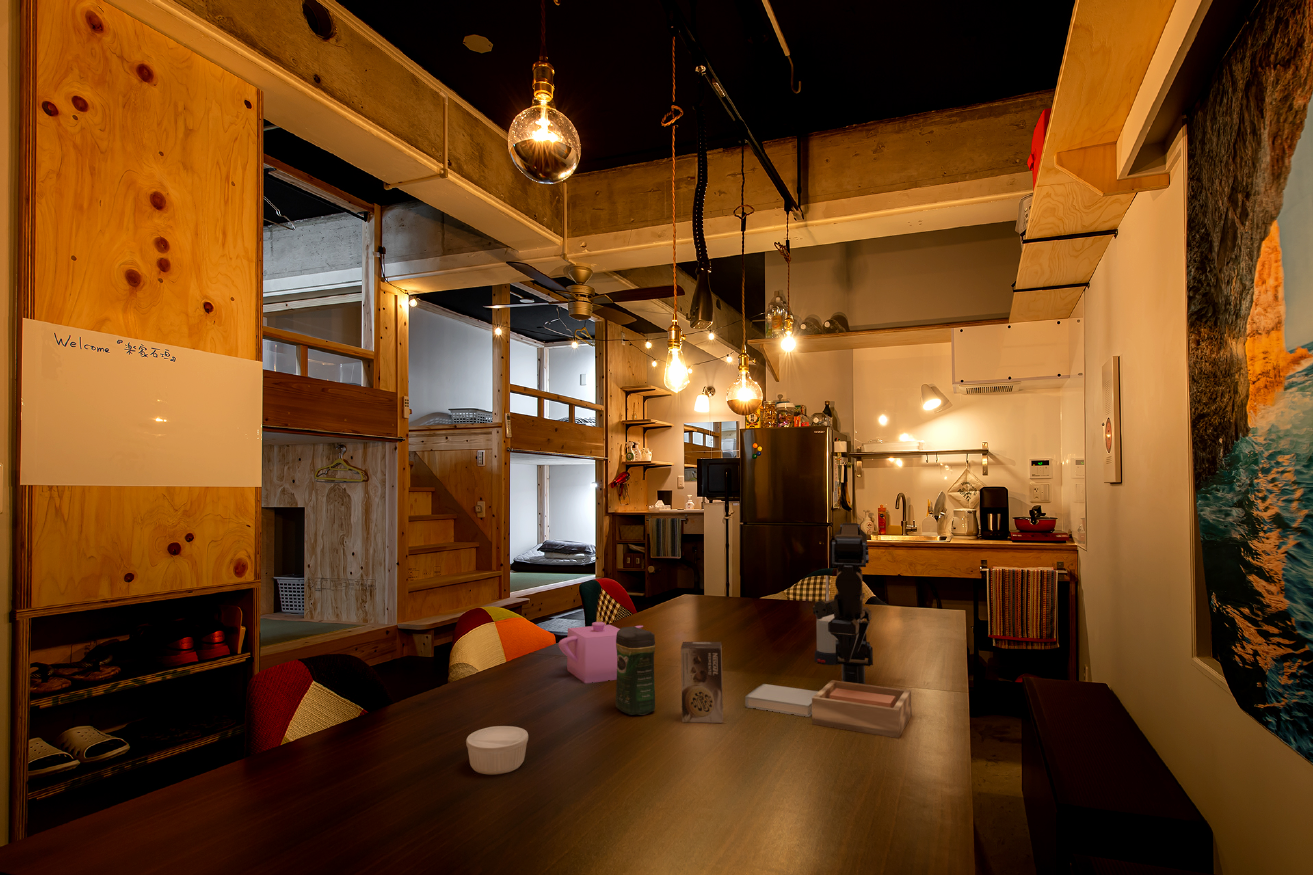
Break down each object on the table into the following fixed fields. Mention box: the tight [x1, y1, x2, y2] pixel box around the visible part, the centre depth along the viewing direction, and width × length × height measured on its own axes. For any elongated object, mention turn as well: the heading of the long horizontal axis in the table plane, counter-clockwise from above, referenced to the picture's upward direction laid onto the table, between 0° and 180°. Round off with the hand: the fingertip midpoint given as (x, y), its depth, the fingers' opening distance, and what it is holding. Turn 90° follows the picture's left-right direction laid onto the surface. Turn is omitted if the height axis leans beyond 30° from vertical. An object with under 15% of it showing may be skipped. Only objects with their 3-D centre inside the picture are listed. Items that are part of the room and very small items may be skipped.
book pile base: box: [744, 683, 819, 718], centre depth 164 cm, size 12×15×2 cm
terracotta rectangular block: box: [829, 688, 896, 708], centre depth 153 cm, size 6×13×4 cm, turn 61°
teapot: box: [558, 621, 644, 684], centre depth 193 cm, size 15×25×14 cm, turn 115°
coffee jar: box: [615, 625, 656, 716], centre depth 161 cm, size 10×8×19 cm
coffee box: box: [680, 641, 724, 724], centre depth 155 cm, size 9×6×16 cm
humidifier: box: [814, 575, 841, 666], centre depth 206 cm, size 8×8×25 cm
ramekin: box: [465, 725, 529, 775], centre depth 128 cm, size 11×11×5 cm
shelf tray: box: [811, 679, 913, 739], centre depth 153 cm, size 16×18×6 cm
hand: (851, 656), depth 162 cm, fingers open, 9 cm apart
